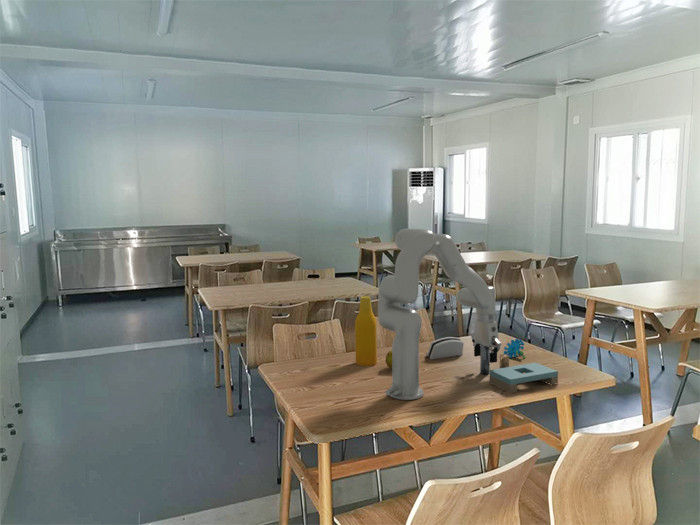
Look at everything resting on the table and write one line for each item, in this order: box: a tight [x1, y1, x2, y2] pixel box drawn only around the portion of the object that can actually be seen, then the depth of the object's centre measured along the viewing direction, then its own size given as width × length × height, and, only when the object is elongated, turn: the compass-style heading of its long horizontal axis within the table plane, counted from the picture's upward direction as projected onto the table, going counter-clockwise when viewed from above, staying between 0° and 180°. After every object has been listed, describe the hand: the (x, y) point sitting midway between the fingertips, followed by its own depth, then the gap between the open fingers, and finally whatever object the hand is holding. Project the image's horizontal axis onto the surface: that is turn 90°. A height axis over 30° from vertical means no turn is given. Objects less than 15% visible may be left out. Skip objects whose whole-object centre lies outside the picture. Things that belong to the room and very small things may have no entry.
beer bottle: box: [354, 295, 378, 367], centre depth 233 cm, size 9×9×29 cm
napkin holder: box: [425, 336, 464, 360], centre depth 242 cm, size 17×5×10 cm, turn 113°
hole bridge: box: [489, 362, 559, 394], centre depth 205 cm, size 22×12×5 cm, turn 113°
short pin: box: [499, 353, 510, 369], centre depth 222 cm, size 4×4×6 cm
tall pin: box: [479, 345, 491, 376], centre depth 218 cm, size 4×4×12 cm
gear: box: [503, 338, 526, 359], centre depth 241 cm, size 11×6×10 cm
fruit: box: [385, 349, 392, 370], centre depth 225 cm, size 10×9×8 cm
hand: (485, 358), depth 218 cm, fingers open, 9 cm apart
